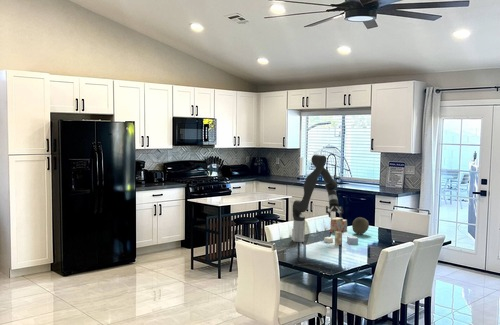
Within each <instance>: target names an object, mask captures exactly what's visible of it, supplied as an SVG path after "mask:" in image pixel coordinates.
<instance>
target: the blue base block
mask: <svg viewBox="0 0 500 325" xmlns="http://www.w3.org/2000/svg"><path fill="white" fill-rule="evenodd" d="M346 243H348V244H349V245H359V238H358V237H357V235H356V236H351V235H348V236H347V238H346Z"/></svg>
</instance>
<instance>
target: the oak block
mask: <svg viewBox="0 0 500 325" xmlns="http://www.w3.org/2000/svg"><path fill="white" fill-rule="evenodd" d="M342 235H343V231H335V233H334V244H335V245H336V246H337V245H338V246H342V238H343V236H342Z"/></svg>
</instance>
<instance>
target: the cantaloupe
mask: <svg viewBox="0 0 500 325" xmlns="http://www.w3.org/2000/svg"><path fill="white" fill-rule="evenodd" d="M351 226H352V231H353V233H355V234H357V235H363V234H365V233H366V232H367V231H369V227H370V224H369V220H367V219H366V218H365V217H361V216H359V217H356V218H355V219H353V221H352V224H351Z"/></svg>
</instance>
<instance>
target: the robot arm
mask: <svg viewBox="0 0 500 325" xmlns="http://www.w3.org/2000/svg"><path fill="white" fill-rule="evenodd" d="M311 164H312V165H313V167H315V168H314V170H313V171H312V172H311V173H309V174H308V175H307V176H306V178H305V180H304V183H303V197H302V199H301V200H300V199H295V200H294V201H293V203H292V217H293V224H292V225H293V226H292V227H293V228H292V229H291V230H292V231H291V232H292V234H291V241H292V240H293V242H295V243H304V242H305V227H306V224H305V223H306V217H305V216H304V214H302V213H305V212H306V211H307V210H308V208H309V204H310V201H311V197H312V195H313V192H314V190H315V188H316V185H317V182H318V180H319V178H320V175H321V178H322V180H323V182H324V183H325V184H324V187H325V190H326V192H327V194H328V195H327V196H328V205H326V206H325V213H326V214H327V215H328V217H329V218H330V219H332V218H331V217H332V215H331V213H338V214H339V218H343V214H344V208H343V206H339V199H338V196H337V195H338V194H337V191H336V190H337V188H338V187H339V185H338V182H336V180H335V179H333V177H332V176H331V174H330V172H329V171H328V170H327V169H326V168H325V165H326V164H327V157H326V156H325V154H324V155H322V154H317V153H316V154H313V155H312V157H311Z"/></svg>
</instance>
